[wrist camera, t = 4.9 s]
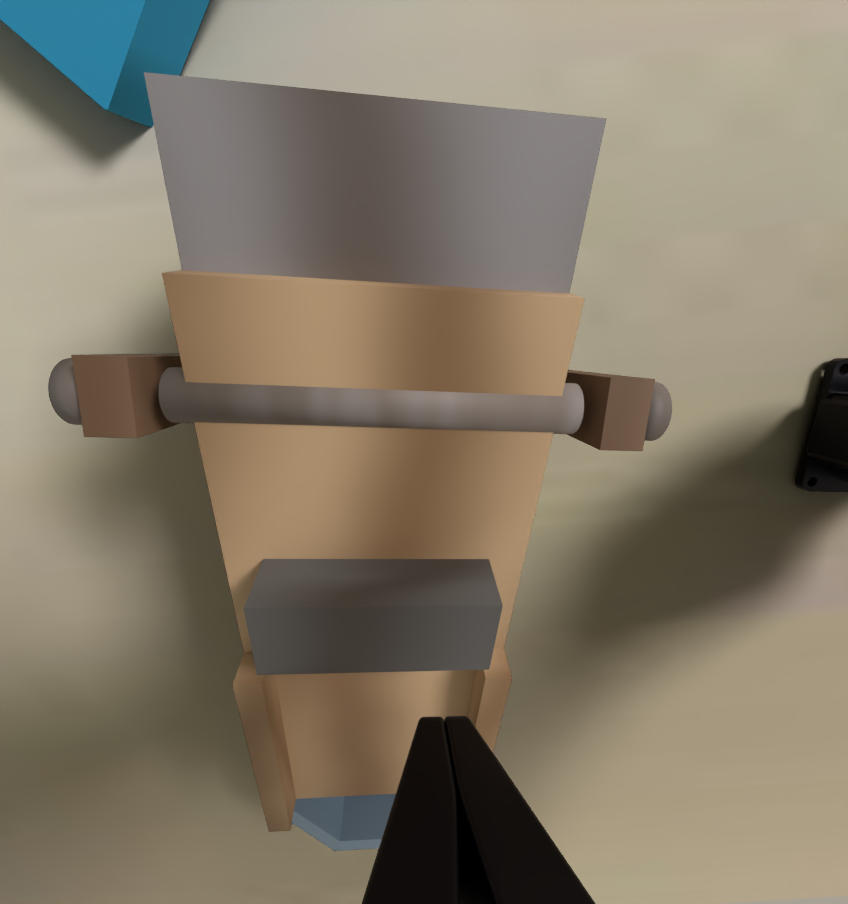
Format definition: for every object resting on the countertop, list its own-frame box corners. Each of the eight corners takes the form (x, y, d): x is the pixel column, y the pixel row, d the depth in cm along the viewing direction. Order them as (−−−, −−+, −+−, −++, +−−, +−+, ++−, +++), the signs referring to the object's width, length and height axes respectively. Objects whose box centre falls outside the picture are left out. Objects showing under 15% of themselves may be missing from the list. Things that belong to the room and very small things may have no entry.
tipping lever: (543, 164, 12) (726, 74, 5) (462, 662, 22) (491, 839, 16) (223, 136, 11) (-19, -10, 5) (294, 666, 21) (250, 853, 15)
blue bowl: (474, 623, 21) (491, 680, 18) (461, 769, 24) (474, 846, 20) (282, 626, 21) (259, 686, 17) (289, 777, 23) (270, 859, 19)
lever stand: (555, 239, 17) (759, 102, 8) (532, 447, 19) (669, 540, 10) (209, 214, 16) (-56, 15, 6) (226, 439, 18) (44, 537, 9)
